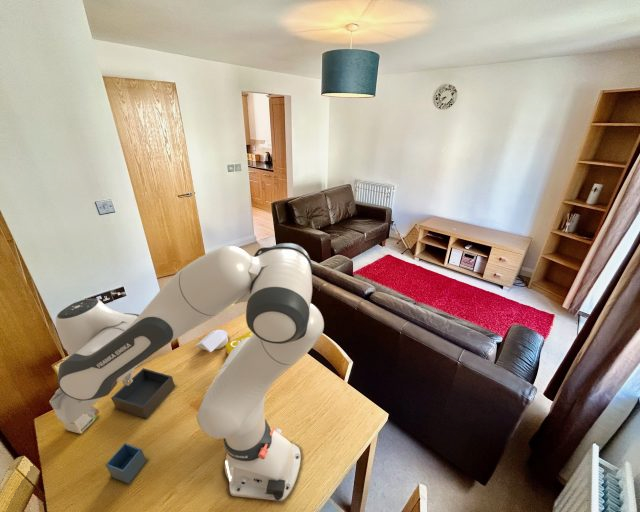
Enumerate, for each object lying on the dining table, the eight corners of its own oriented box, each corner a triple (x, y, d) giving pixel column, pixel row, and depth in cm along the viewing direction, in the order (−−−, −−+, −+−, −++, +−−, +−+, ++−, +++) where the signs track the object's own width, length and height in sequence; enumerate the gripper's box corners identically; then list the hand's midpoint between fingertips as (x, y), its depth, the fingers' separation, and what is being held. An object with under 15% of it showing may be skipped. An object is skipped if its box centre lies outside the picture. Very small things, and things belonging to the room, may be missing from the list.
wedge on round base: (212, 358, 117) (232, 338, 128) (209, 346, 114) (230, 327, 125) (196, 351, 120) (217, 333, 131) (193, 339, 117) (215, 321, 128)
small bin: (146, 460, 81) (141, 449, 78) (128, 483, 76) (122, 472, 73) (130, 454, 82) (124, 442, 80) (111, 477, 77) (105, 464, 74)
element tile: (241, 372, 110) (240, 364, 108) (225, 351, 120) (223, 343, 118) (272, 354, 120) (272, 346, 118) (255, 336, 130) (254, 328, 128)
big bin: (175, 386, 104) (172, 376, 101) (146, 418, 92) (142, 408, 90) (146, 378, 107) (143, 368, 104) (115, 408, 95) (111, 397, 93)
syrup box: (81, 434, 87) (64, 404, 81) (66, 430, 88) (48, 400, 82) (97, 417, 92) (83, 388, 86) (83, 414, 93) (67, 384, 87)
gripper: (59, 403, 55) (79, 442, 61) (144, 335, 72) (153, 371, 79) (36, 393, 56) (58, 433, 62) (125, 329, 74) (135, 365, 80)
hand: (112, 398), depth 71 cm, fingers open, 8 cm apart
